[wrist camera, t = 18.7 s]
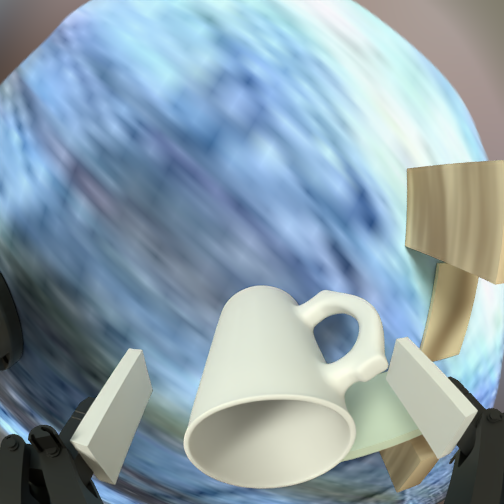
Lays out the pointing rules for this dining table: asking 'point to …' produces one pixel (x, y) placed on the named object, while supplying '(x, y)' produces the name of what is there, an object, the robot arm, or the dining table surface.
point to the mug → (279, 389)
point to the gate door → (377, 417)
